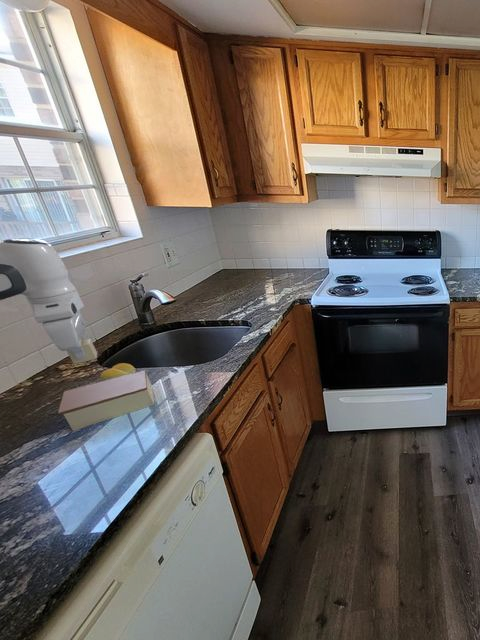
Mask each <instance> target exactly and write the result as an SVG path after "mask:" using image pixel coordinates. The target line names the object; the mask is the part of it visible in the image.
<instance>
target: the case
mask: <svg viewBox="0 0 480 640" xmlns="http://www.w3.org/2000/svg"><path fill="white" fill-rule="evenodd" d="M146 380H147V390H144V391H140V392H137V393H133V394H130V395H126V396H123V397H119V398H116V399H112V400H109V401H105V402H102V403H99V404H95V405H92V406H88V407H85V408H81V409H78V410H74V411H71V412H67V413H64V414H63V417H64V418H65V420H66V421H67V423H68V425H69V427H70V428H71V430H72V432H74V431H77V430H79V429H83V428H86V427H89V426H92V425H93V426H94V425H96V424H99V423H102V422H105V421H108V420H112V419H115V418H118V417H121V416H124V415H127V414H130V413H134V412H137V411H139V410H143V409H146V408H148V407H152V406H155V399H154V391H153V385H152V383H151V380H150V379H149V376H148V373H146Z"/></svg>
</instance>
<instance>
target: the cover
mask: <svg viewBox="0 0 480 640" xmlns="http://www.w3.org/2000/svg"><path fill="white" fill-rule="evenodd" d="M146 374H147V371H146V369H144V370H140V371H136V373H132V374H129V375H125V376H121V377H117V378H113V379H110V380H106V381H99V382H95V383H91V384H86V385H84V386H79V387H76V388H72V389H68V390H64V391H63V394H62V397H61V401H60V404H59V408H58V411H57V415H58V416H60V415H64V413H67V412H71V411H74V410H78V409H81V408H85V407H88V406H92V405H95V404H99V403H102V402H105V401H109V400H112V399H116V398H119V397H123V396H126V395H130V394H133V393H137V392H140V391H144V390H147V380H146Z"/></svg>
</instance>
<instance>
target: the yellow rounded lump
mask: <svg viewBox="0 0 480 640" xmlns="http://www.w3.org/2000/svg"><path fill="white" fill-rule="evenodd" d="M135 369H136V368H135V367H134V366H133V365H132V364H130V363H125V362H121V363H117V364H115V365H113V366H112V367H111V368H107V369H105V370H103V371H102V372H101V373H100V375H99V379H100V382H102V381H106V380H110V379H113V378H117V377H121V376H125V375H129V374H132V373H136V372H137V369H136V370H135Z"/></svg>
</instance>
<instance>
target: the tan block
mask: <svg viewBox="0 0 480 640" xmlns="http://www.w3.org/2000/svg"><path fill="white" fill-rule="evenodd" d="M81 346H82V348H83V349H84V351H85V353H86V357H84V358H80V359H77V358H76V356H75V354H74V353H73V352H72V351H71V350H66V352H67V355H68V357H69V359H70V360H71V361H72V364H73V365H78V364H81V363H85V362H90V361H93V360H97V358H98V351H97V349H96V347H95V345H94V343H93V341H92V339H91V338H87V339H86V338H85V340H82V341H81Z"/></svg>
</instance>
